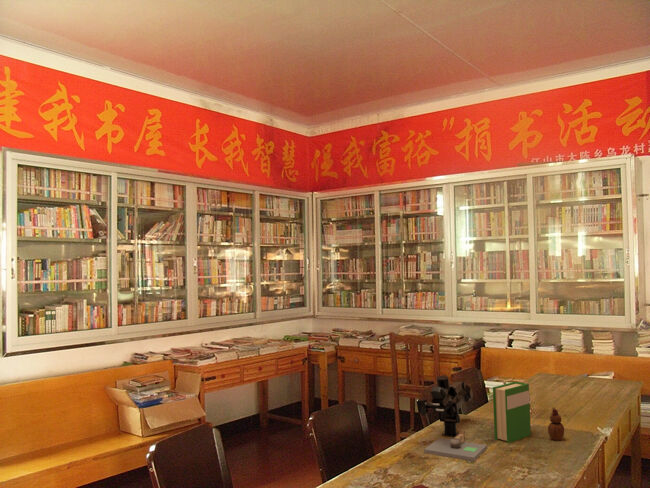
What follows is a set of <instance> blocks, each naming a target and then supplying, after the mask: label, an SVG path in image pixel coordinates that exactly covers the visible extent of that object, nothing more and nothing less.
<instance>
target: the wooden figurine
mask: <svg viewBox="0 0 650 488" xmlns="http://www.w3.org/2000/svg"><path fill="white" fill-rule="evenodd" d="M549 421H550V423H548V425H547V432H548V435H549V438H550V439H551V440H553V441H562V440H563V438H564V436H565V427H564V424H563V423H561V422H562V417H561V415H560V414H559V412H558V410H557V409H556V407H552V414H551V415H550V416H549Z"/></svg>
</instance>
